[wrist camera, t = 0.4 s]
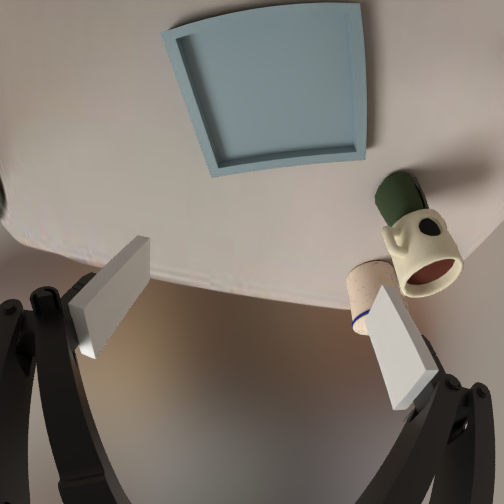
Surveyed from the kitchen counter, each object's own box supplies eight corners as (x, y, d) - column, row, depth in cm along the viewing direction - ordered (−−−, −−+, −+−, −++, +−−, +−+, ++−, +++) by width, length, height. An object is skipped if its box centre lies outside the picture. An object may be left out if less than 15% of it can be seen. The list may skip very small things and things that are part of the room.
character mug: (439, 185, 29) (483, 267, 21) (409, 220, 35) (440, 303, 26) (377, 151, 27) (422, 243, 19) (346, 197, 32) (372, 290, 24)
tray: (167, 30, 18) (160, 32, 16) (353, 3, 15) (359, 3, 14) (214, 168, 30) (211, 177, 29) (360, 150, 27) (365, 159, 26)
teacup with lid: (334, 284, 47) (342, 348, 40) (364, 253, 40) (380, 323, 33) (385, 294, 50) (396, 350, 43) (415, 268, 43) (433, 328, 36)
